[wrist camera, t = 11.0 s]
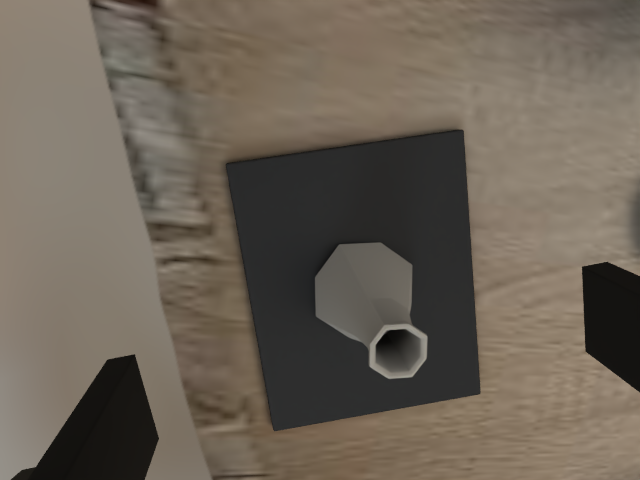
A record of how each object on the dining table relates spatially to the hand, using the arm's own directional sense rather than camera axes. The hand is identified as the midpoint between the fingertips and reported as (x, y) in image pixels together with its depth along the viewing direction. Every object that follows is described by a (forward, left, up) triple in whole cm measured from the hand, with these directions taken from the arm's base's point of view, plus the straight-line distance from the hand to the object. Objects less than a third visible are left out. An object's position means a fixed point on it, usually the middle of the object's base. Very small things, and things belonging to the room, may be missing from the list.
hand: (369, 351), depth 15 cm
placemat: (-3, +6, -21) cm, 22 cm away
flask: (-3, +6, -21) cm, 22 cm away
